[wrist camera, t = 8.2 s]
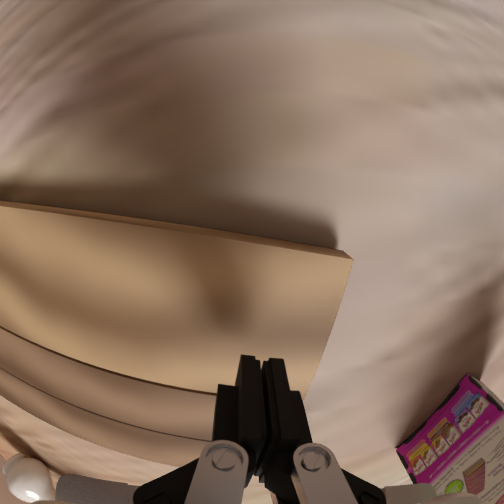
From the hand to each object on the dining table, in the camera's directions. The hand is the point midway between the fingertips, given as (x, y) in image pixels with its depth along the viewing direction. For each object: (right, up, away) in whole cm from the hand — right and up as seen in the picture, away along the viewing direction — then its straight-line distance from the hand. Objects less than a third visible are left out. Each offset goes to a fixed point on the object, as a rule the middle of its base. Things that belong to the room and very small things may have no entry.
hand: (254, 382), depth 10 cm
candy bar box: (+20, -12, +9) cm, 25 cm away
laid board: (-12, -6, +6) cm, 14 cm away
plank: (-10, +3, +3) cm, 11 cm away
